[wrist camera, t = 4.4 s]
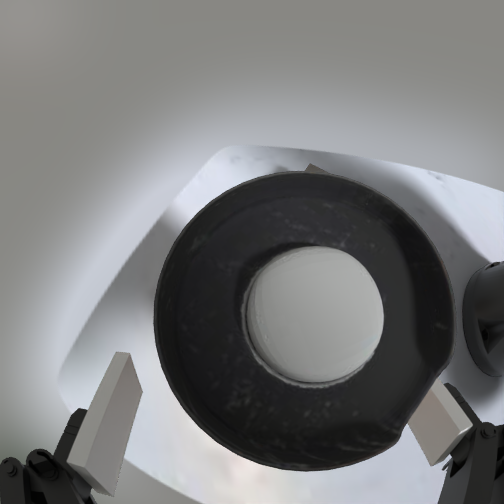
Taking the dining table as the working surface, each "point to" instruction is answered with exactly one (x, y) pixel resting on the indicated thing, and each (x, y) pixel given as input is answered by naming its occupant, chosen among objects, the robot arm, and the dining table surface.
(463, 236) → the dining table surface
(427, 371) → the travel mug
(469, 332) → the robot arm
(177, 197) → the dining table surface
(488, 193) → the dining table surface
